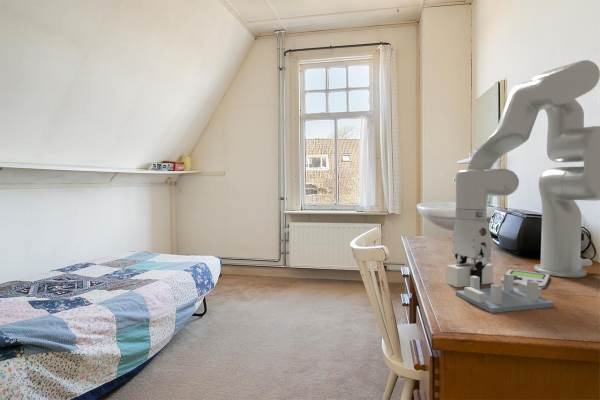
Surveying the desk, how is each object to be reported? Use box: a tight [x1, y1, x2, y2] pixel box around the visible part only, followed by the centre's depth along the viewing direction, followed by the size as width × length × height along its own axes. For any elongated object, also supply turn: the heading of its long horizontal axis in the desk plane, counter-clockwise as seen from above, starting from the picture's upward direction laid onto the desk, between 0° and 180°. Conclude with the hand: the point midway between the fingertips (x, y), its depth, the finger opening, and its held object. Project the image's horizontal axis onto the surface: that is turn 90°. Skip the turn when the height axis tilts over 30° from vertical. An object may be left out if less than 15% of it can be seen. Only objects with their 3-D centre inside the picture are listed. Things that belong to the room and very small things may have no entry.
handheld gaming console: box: [500, 268, 551, 289], centre depth 98 cm, size 10×2×15 cm
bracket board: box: [455, 272, 555, 314], centre depth 82 cm, size 16×12×5 cm
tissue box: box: [445, 260, 494, 288], centre depth 96 cm, size 12×4×6 cm, turn 107°
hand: (469, 280), depth 96 cm, fingers closed on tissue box, 4 cm apart
